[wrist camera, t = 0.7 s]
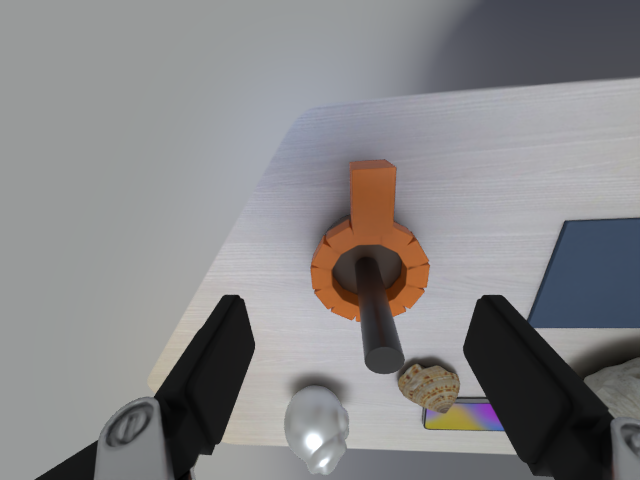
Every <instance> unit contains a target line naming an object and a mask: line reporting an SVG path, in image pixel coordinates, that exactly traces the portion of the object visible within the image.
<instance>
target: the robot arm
mask: <svg viewBox="0 0 640 480" xmlns="http://www.w3.org/2000/svg"><path fill="white" fill-rule="evenodd" d="M254 350H255V341H254V337H253V334H252V330H251V326H250V322H249V318H248V314H247V310H246V306H245V302H244V299H242V298H240V296H239V295H224V296H223V297H222V298H221V300H220V301H219V303H218V304H217V306H216V307H215V309H214V310H213V312H212V313H211V315H210V316H209V318H208V319H207V321H206V322H205V324H204V325H203V327H202V328H201V329H200V330H199V331H198V332H197V333H196V335H195V336H194V338H193V339H192V341H191V342H190V344H189V345H188V347H187V348H186V350H185V351H184V353H183V354H182V356H181V357H180V359H179V360H178V362H177V363H176V365H175V366H174V368H173V369H172V370H171V372H170V373H169V375H168V376H167V378H166V379H165V381H164V382H163V384H162V385H161V387H160V388H159V390H158V391H157V393H156V394H155V396H154V397H143V398H138V399H136V400H134V401H131V402H129V403H128V404H126V405H125V406H123V407H122V408H121V409H119V410H118V411H117V412H116V413H115V414H114V415H113V416H112V417H111V418H110V419H109V421H108V422H107V423H106V424H105V426H104V428H103V429H102V431H101V433H100V436H99V440H97V441H95V442H94V443H92V444H91V445H89V446H87V447H86V448H84V449H83V450H81V451H79V452H78V453H76V454H75V455H73V456H72V457H70V458H68V459H67V460H65V461H64V462H62V463H61V464H59V465H57V466H56V467H54V468H52V469H51V470H49V471H48V472H46V473H45V474H43V475H41V476H40V477H38V478H36V479H35V480H196V479H195V474H194V468H193V466H194V465H195V463H196V461H197V458H198V456H199V454H202V455H212V452H213V450H214V447H215V445H216V444H219V443H220V442H221V440H222V437H223V435H224V432H225V429H226V427H227V424H228V421H229V418H230V416H231V413H232V410H233V408H234V405H235V402H236V399H237V397H238V394H239V391H240V389H241V386H242V383H243V380H244V378H245V375H246V372H247V370H248V367H249V364H250V361H251V359H252V356H253V353H254ZM463 352H464V355H465V358H466V359H467V361H468V363H469V365H470V367H471V369H472V371H473V373H474V374H475V376H476V378H477V380H478V382H479V384H480V386H481V387H482V389H483V391H484V393H485V395H486V397H487V399H488V401H489V402H490V404H491V406H492V408H493V410H494V412H495V414H496V416H497V417H498V419H499V421H500V423H501V425H502V427H503V429H504V430H505V432H506V434H507V436H508V438H509V440H510V442H511V444H512V445H513V447H514V449H515V451H516V453H517V455H518V456H519V458H520V459H521V460H522V461H523V462H525V463H527V464H528V466H529V468H530V470H531V472H532V474H533V475H534V476H549V477H554V479H555V480H640V420H639V419H635V418H631V417H617V418H614V417H613V416H612V415H611V413H610V412H609V411H608V410H609V408H608V407H607V406H606V405H605V404H604V403H603V402H602V401H601V399H600V398H599V397H598V396H597V395H596V394H595V393H594V392H593V391H592V390H591V389H590V388H589V387H588V386H587V385H586V383H585V382H584V381H583V380H582V379H581V378H580V377H579V376H578V375H577V374H576V373H575V372H574V371H573V370H572V369H571V368H570V366H569V365H568V364H567V363H566V362H565V361H564V360H563V359H562V358H561V357H560V356H559V355H558V354H557V353H556V352H555V350H554V349H553V348H552V347H551V346H550V345H549V344H548V343H547V342H546V341H545V340H544V339H543V338H542V337H541V336H540V335H539V333H538V332H537V331H536V330H535V329H534V328H533V327H532V326H531V325H530V324H529V323H528V322H527V321H526V320H525V319H524V317H523V316H522V315H521V314H520V313H519V312H518V311H517V310H516V309H515V308H514V307H513V306H512V305H511V304H510V303H509V302H508V300H507V299H506V298H505V297H503V296H502V295H483V296H482V297H481V299H478V300H477V302H476V306H475V309H474V312H473V316H472V319H471V322H470V326H469V329H468V333H467V336H466V339H465V343H464V346H463Z"/></svg>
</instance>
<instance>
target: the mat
mask: <svg viewBox="0 0 640 480" xmlns="http://www.w3.org/2000/svg"><path fill="white" fill-rule="evenodd" d="M527 322H528V323H529V324H530V325H531V326H532V327H533V328H640V218H628V219H603V220H578V221H565V223H564V225H563V228H562V231H561V233H560V236H559V239H558V241H557V244H556V247H555V249H554V252H553V255H552V257H551V260H550V262H549V265H548V268H547V270H546V273H545V276H544V278H543V281H542V284H541V286H540V289H539V292H538V294H537V297H536V299H535V302H534V305H533V307H532V310H531V313H530V315H529V318H528V321H527Z"/></svg>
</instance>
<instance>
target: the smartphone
mask: <svg viewBox="0 0 640 480" xmlns="http://www.w3.org/2000/svg"><path fill="white" fill-rule="evenodd" d="M423 426H424V428H425V429H428V430H467V431H505V430H504V429H503V427H502V425H501V423H500V421H499V419H498V417H497V416H496V414H495V412H494V410H493V408H492V406H491V404H490V402H489V401H488V399H456V400H455V402H454V404H453V405H452V407H451V408H450V409H449V410H448V411H447V413H445V414H443V413H439V412H434V411H431V410H428V409H426V408H424V411H423Z"/></svg>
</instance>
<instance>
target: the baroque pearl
mask: <svg viewBox="0 0 640 480" xmlns="http://www.w3.org/2000/svg"><path fill="white" fill-rule="evenodd" d="M284 430H285V436H286V439H287V442H288V444H289V446H290V448H291V449H292V451H293V452H294V453H295V455H297V456H298V457H299V458H300V459H302V460H303V461H305V463H306V464H307V467H308V470H309V472H310V473H311V474H316V473H322V474H324V475H327V474H330V473H331V472H332V471H333V470H334V468H335V467H336V466H337V464H338V462H339V459H340V458H341V457H342V455H343V454H344V453H345V451H346V448H347V446H346V442H345V439H346V438H347V437H348V434H349V416H348V412H347V411H346V409H345V408H344V407H342V404H341V403H340V402H339V400H338V398H337V397H336V395H335V394H334V393H333V392H332V391H330V390H329V389H327V388H325V387H322V386H317V385H314V386H308V387H305V388H303V389H302V390H300V391H299V392H298V393H296V394H295V396H294V397H293V398H292V399H291V401H290V403H289V405H288V407H287V410H286V413H285V419H284Z"/></svg>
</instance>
